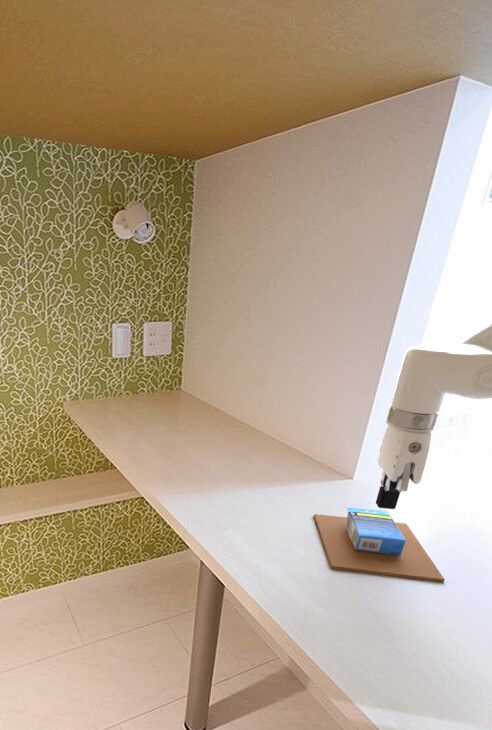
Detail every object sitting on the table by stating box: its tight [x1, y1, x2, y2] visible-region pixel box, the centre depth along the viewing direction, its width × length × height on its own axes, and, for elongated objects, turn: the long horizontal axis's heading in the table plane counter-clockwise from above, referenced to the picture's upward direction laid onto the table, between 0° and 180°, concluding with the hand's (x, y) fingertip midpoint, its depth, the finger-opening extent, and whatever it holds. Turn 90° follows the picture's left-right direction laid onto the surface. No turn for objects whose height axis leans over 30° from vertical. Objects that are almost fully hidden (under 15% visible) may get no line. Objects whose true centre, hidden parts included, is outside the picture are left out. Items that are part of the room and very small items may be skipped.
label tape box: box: [345, 507, 406, 556], centre depth 92 cm, size 9×4×12 cm
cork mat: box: [313, 513, 446, 583], centre depth 91 cm, size 20×20×1 cm
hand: (385, 506), depth 86 cm, fingers closed
